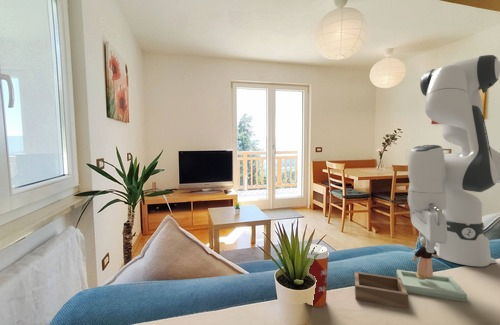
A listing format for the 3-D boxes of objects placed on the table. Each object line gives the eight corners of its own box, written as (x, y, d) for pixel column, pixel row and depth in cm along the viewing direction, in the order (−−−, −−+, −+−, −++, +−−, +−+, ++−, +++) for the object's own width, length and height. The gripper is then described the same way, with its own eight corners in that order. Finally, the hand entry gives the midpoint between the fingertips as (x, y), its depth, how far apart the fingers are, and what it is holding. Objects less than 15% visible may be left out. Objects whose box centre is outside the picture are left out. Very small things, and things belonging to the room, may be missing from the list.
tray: (396, 275, 76) (396, 269, 76) (451, 283, 71) (451, 276, 71) (403, 291, 67) (403, 284, 67) (466, 302, 62) (466, 294, 62)
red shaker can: (332, 311, 59) (331, 254, 59) (300, 308, 60) (299, 252, 60) (328, 294, 67) (327, 243, 67) (300, 291, 68) (299, 242, 68)
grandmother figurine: (422, 283, 68) (423, 242, 66) (409, 275, 71) (410, 236, 69) (441, 276, 70) (444, 236, 68) (428, 269, 73) (430, 230, 71)
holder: (354, 283, 72) (354, 271, 72) (400, 290, 68) (400, 278, 68) (355, 299, 64) (355, 286, 64) (408, 308, 59) (408, 294, 59)
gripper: (455, 208, 58) (456, 265, 58) (428, 196, 77) (429, 239, 77) (424, 207, 60) (424, 261, 60) (405, 196, 79) (406, 237, 79)
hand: (427, 249), depth 69 cm, fingers closed on grandmother figurine, 3 cm apart
